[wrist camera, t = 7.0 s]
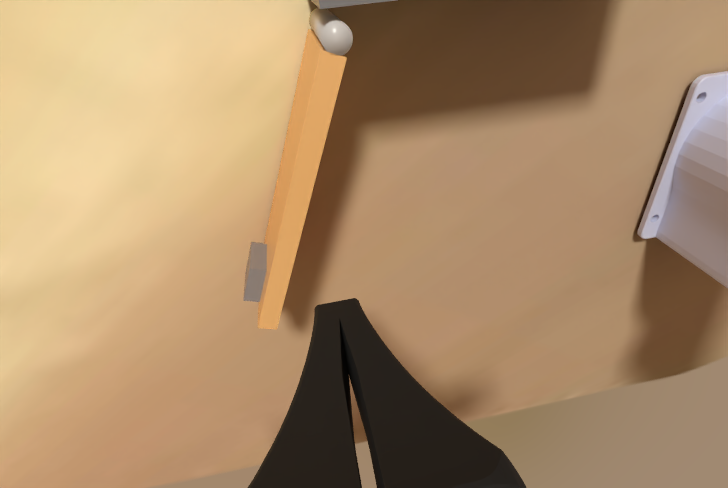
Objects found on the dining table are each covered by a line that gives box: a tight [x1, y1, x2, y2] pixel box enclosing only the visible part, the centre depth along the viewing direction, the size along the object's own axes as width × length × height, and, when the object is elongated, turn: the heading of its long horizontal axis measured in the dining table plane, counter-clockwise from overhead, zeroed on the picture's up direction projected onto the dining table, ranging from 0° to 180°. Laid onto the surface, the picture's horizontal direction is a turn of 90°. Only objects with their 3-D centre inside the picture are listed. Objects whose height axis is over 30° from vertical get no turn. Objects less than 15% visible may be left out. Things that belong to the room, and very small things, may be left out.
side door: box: [244, 7, 353, 329], centre depth 16 cm, size 2×12×5 cm, turn 163°
